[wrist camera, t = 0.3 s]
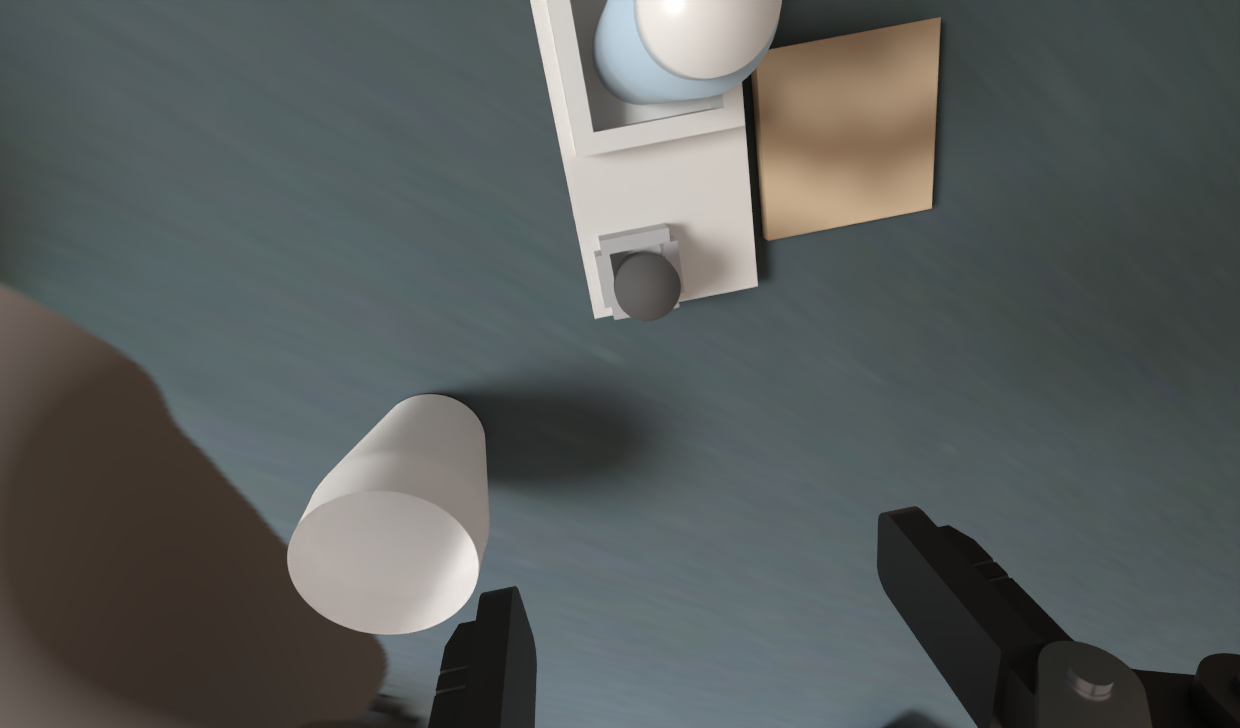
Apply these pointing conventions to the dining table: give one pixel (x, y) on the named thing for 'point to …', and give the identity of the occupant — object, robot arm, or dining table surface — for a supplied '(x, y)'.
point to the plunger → (646, 286)
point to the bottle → (680, 46)
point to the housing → (647, 169)
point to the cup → (398, 522)
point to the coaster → (846, 128)
